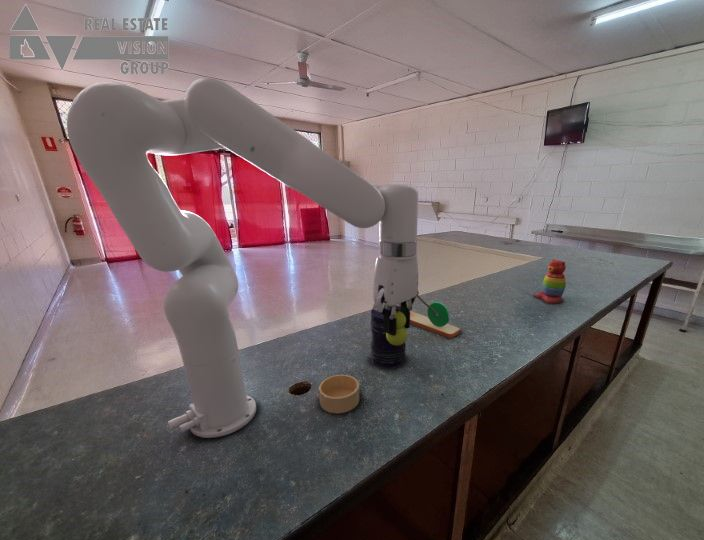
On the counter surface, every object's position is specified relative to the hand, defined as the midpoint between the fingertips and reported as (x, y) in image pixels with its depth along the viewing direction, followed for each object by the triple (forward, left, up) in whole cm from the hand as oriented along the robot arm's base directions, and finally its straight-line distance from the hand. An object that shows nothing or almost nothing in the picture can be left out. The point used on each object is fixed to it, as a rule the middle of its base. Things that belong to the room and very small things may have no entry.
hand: (396, 329), depth 71 cm
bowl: (-11, +8, -17) cm, 22 cm away
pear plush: (0, 0, -4) cm, 4 cm away
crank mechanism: (+37, +18, -17) cm, 45 cm away
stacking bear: (+98, -7, -17) cm, 100 cm away
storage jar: (+10, +12, -17) cm, 23 cm away
